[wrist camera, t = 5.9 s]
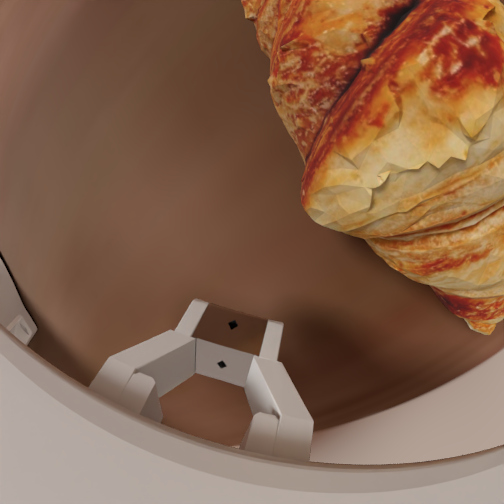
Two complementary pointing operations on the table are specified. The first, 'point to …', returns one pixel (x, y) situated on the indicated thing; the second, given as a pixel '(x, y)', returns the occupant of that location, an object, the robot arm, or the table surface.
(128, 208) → the table surface
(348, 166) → the croissant
